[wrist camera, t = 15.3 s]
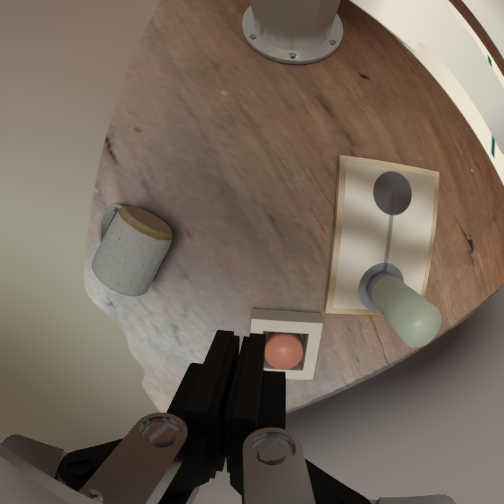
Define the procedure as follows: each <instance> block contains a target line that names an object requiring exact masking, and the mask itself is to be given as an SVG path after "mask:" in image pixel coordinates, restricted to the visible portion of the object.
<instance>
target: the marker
mask: <svg viewBox="0 0 504 504" xmlns="http://www.w3.org/2000/svg"><path fill="white" fill-rule="evenodd" d="M366 292H367V296H368V298H369V299H370V300H371V301H372V303H373V304H374V305H375V306H376V307H377V309H378V310H379V311H380V312H381V313H382V315H383V316H384V317H385V318H386V320H387V321H388V322H389V323H390V325H391V326H392V327H393V328H394V330H395V331H396V332H397V333H398V335H399V336H400V337H401V339H402V340H403V341H404V342H405V344H406V345H408V346H409V347H412V348H418V347H422V346H424V345H426V344H428V343H429V342H430V341H431V340H432V339H433V338H434V337H435V336H436V334H437V333H438V331H439V328H440V325H441V314H440V312H439V310H438V309H437V308H436V307H435V306H433V305H432V304H431V303H430V302H428V301H427V300H426V299H425V298H423V297H422V296H421V295H419V294H418V293H417V292H415V291H414V290H413V289H412V288H410V287H409V286H408V285H406V284H405V283H404V282H402V281H401V280H400V279H398V278H397V277H396V276H394V275H393V274H391V273H390V272H387V271H380V272H377V273H375V274H374V275H373V276H372V277H371V278H370V279H369V281H368V283H367V287H366Z"/></svg>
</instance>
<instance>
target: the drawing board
mask: <svg viewBox="0 0 504 504" xmlns="http://www.w3.org/2000/svg"><path fill="white" fill-rule="evenodd" d="M438 191H439V172H436V171H431V170H427V169H422V168H417V167H412V166H407V165H402V164H397V163H391V162H385V161H379V160H373V159H366V158H359V157H352V156H344V155H340V156H338V169H337V188H336V204H335V217H334V229H333V240H332V250H331V259H330V268H329V276H328V284H327V292H326V299H325V306H324V311H325V313H334V314H366V315H382V313H381V312H380V311H379V310H378V309H377V307H376V306H375V305H374V304H373V303H372V301H371V300H370V299H369V298H368V296H367V292H366V287H367V283H368V281H369V279H370V278H371V277H372V276H373V275H374V274H375V273H377V272H380V271H387V272H390V273H391V274H393V275H394V276H396V277H397V278H398V279H400V280H401V281H402V282H404V283H405V284H406V285H408V286H409V287H410V288H412V289H413V290H414V291H415V292H417V293H418V294H419V295H421V296H422V297H423V298H424V295H425V291H426V286H427V281H428V276H429V270H430V264H431V258H432V252H433V245H434V237H435V228H436V219H437V207H438Z"/></svg>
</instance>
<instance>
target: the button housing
mask: <svg viewBox="0 0 504 504" xmlns="http://www.w3.org/2000/svg"><path fill="white" fill-rule="evenodd" d="M322 325H323V322H322V319H321V316H320V313H313V312H295V311H280V310H266V309H254V310H253V314H252V318H251V333H260V334H263V333H264V331H272V332H287V333H304V334H305V338H304V345H303V357H302V359H301V361H300V362H299V363H298V364H297V365H296V366H294V367H292V368H290V369H277V368H274V367H273V366H271V365H270V364H269V363H268V362H267V360H266V358H264V370H265V371H282V372H286V379H301V380H313V375H314V370H315V365H316V360H317V354H318V349H319V343H320V337H321V332H322Z"/></svg>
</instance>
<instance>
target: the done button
mask: <svg viewBox="0 0 504 504" xmlns="http://www.w3.org/2000/svg"><path fill="white" fill-rule="evenodd" d="M302 357H303V348H302V341H301V339H300V337H299V336H298V335H297V334H296V333H287V332H274V333H272V334H271V335H270V336H269V337H268V339H267V341H266V346H265V358H266V360H267V362H268V363H269V364H270V365H271V366H273V367H274V368H277V369H290V368H292V367H294V366H296V365H297V364H298V363H299V362H300V361H301V359H302Z"/></svg>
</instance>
